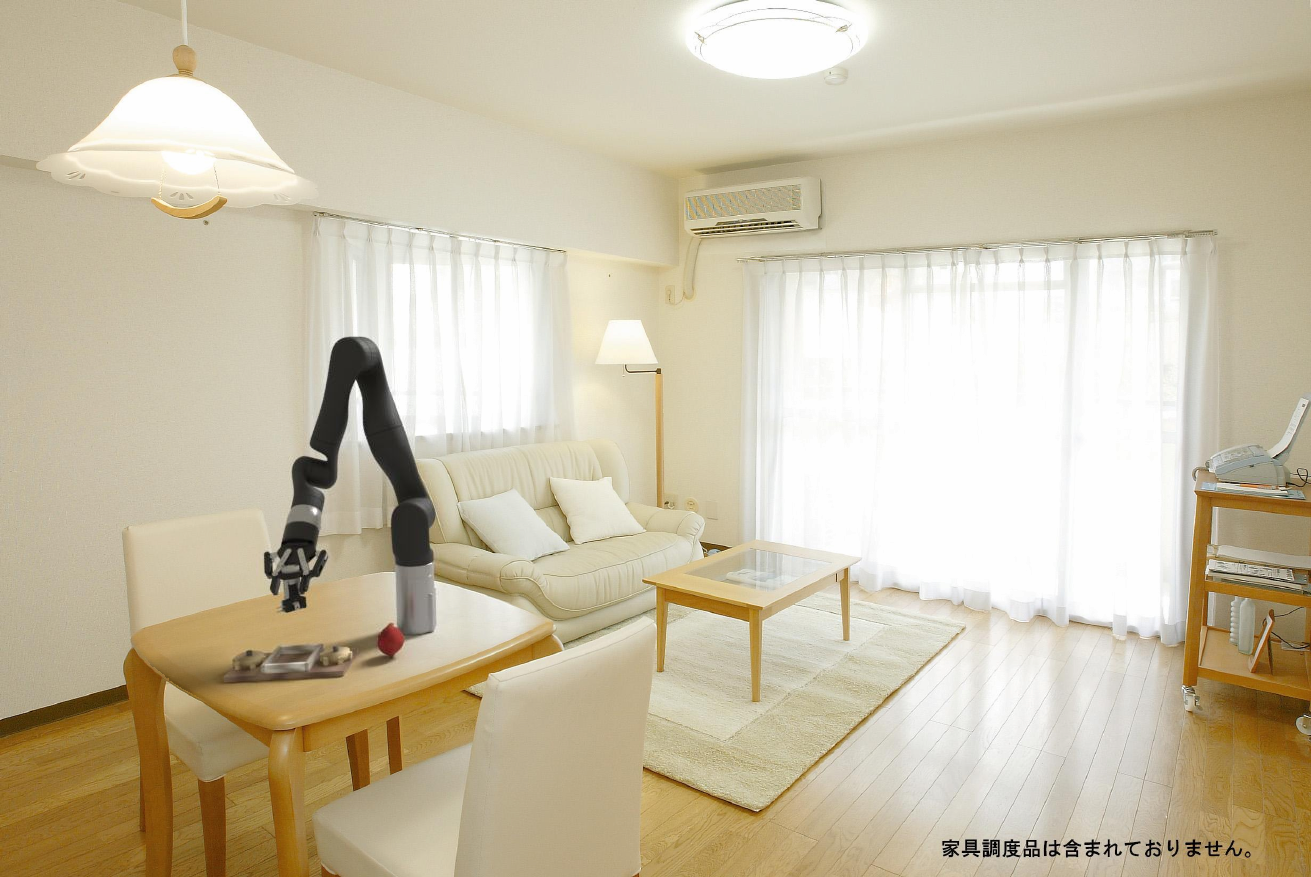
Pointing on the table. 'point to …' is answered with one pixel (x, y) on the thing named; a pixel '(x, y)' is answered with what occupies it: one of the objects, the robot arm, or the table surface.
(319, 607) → the table surface
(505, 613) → the table surface
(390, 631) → the onion
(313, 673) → the gear board
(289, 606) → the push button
